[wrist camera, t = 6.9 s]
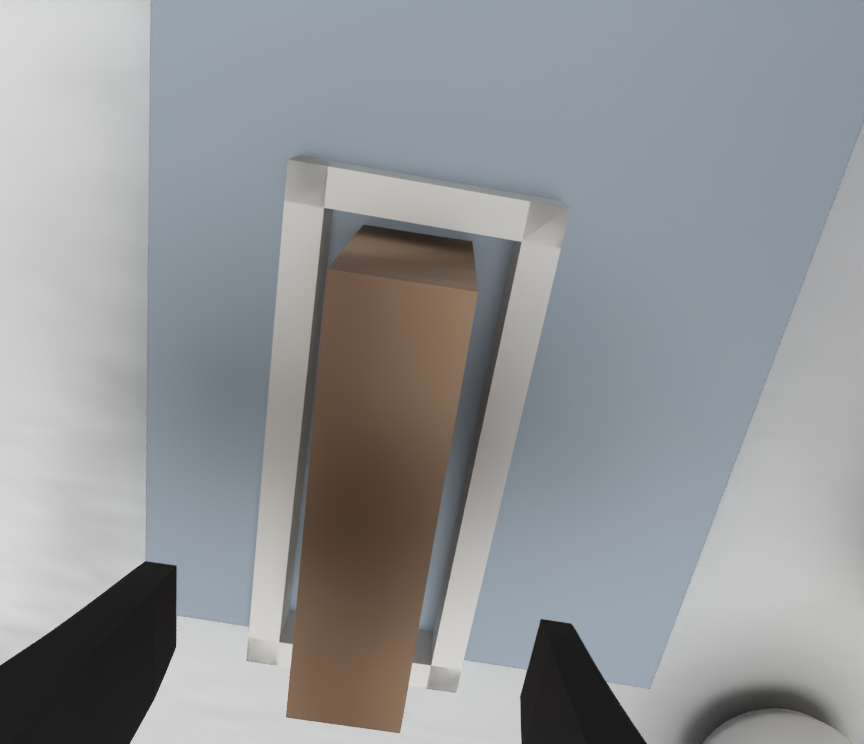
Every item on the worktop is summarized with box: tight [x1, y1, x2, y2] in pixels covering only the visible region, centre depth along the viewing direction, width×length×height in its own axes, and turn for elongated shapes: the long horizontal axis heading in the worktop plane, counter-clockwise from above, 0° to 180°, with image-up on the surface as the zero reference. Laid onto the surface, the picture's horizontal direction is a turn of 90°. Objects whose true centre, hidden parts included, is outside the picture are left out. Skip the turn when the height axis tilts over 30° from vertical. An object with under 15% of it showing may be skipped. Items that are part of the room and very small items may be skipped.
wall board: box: [146, 0, 864, 693], centre depth 18 cm, size 18×30×2 cm, turn 171°
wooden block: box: [286, 225, 478, 733], centre depth 18 cm, size 3×12×6 cm, turn 172°
